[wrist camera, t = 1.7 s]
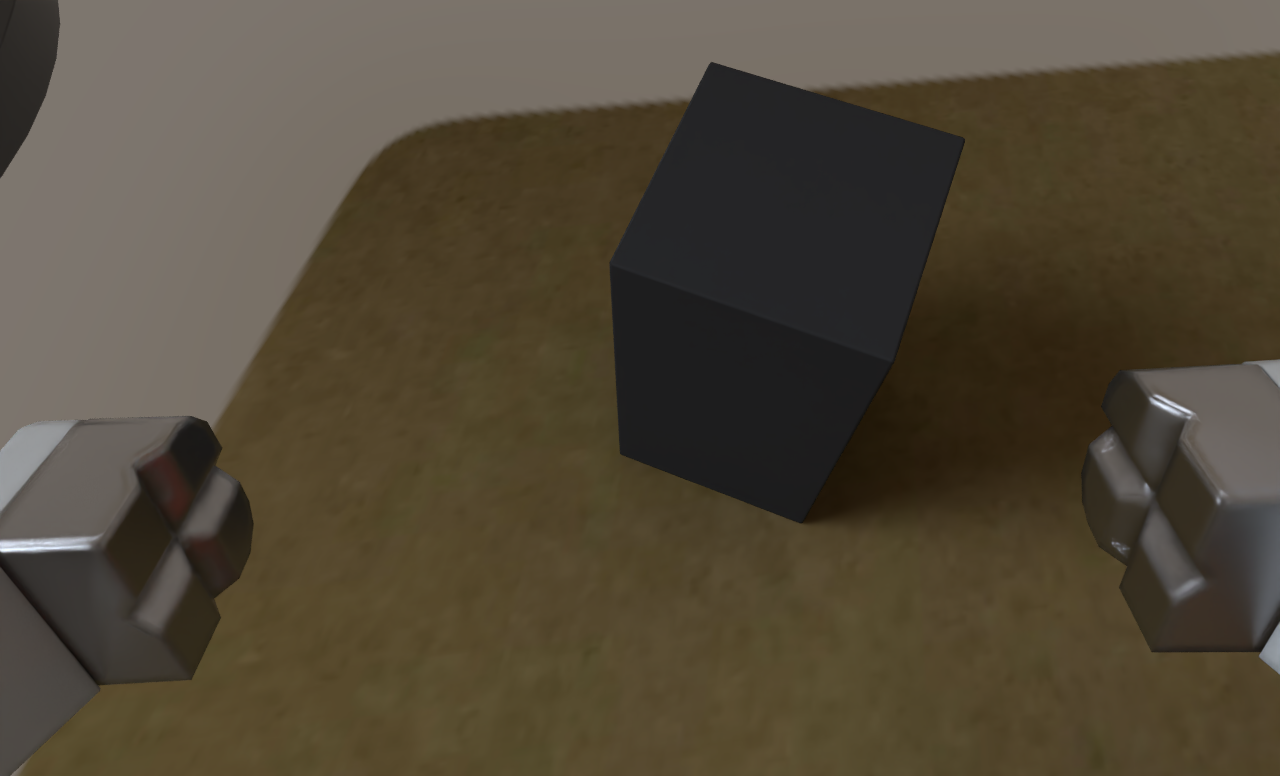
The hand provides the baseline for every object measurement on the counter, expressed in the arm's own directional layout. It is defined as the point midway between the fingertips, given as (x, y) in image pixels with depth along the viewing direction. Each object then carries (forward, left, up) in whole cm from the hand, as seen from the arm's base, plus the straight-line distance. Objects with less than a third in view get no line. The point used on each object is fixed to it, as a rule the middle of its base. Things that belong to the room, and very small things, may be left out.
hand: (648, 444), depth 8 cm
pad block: (0, +7, -14) cm, 16 cm away
